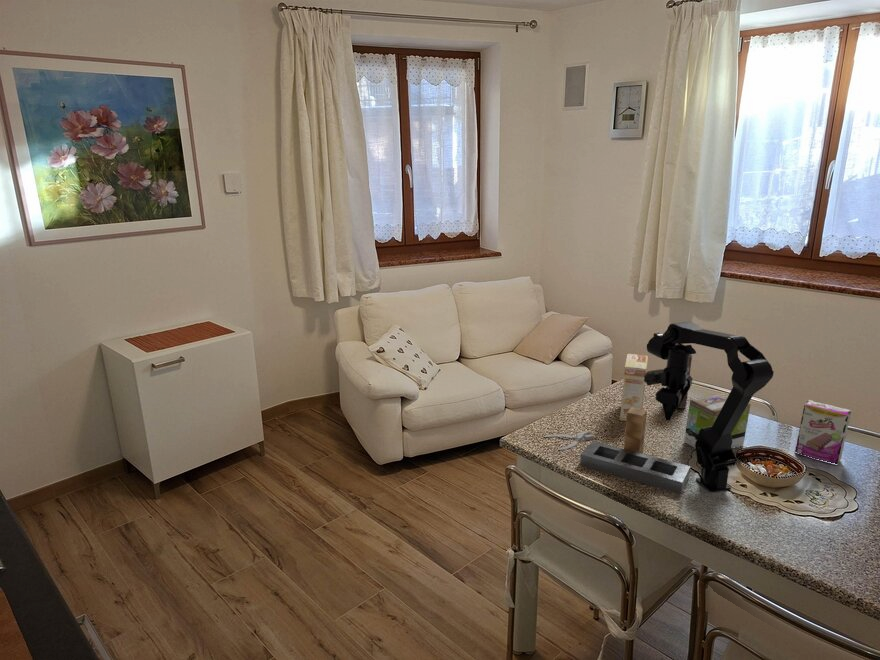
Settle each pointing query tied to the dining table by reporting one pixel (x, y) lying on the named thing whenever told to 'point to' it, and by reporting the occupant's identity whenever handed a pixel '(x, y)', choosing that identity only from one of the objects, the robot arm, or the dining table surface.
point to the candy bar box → (823, 431)
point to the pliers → (578, 437)
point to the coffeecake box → (633, 383)
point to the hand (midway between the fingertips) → (671, 414)
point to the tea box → (712, 418)
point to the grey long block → (636, 466)
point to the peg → (635, 430)
